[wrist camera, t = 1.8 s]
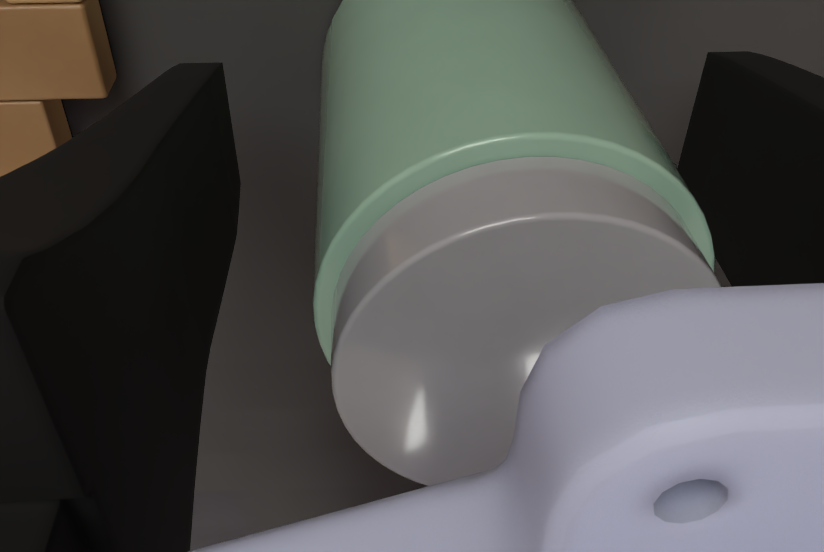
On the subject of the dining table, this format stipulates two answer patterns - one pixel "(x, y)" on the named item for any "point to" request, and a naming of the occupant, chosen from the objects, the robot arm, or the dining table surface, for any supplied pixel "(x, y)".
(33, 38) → the salad fork
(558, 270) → the salt shaker
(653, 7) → the dining table surface
